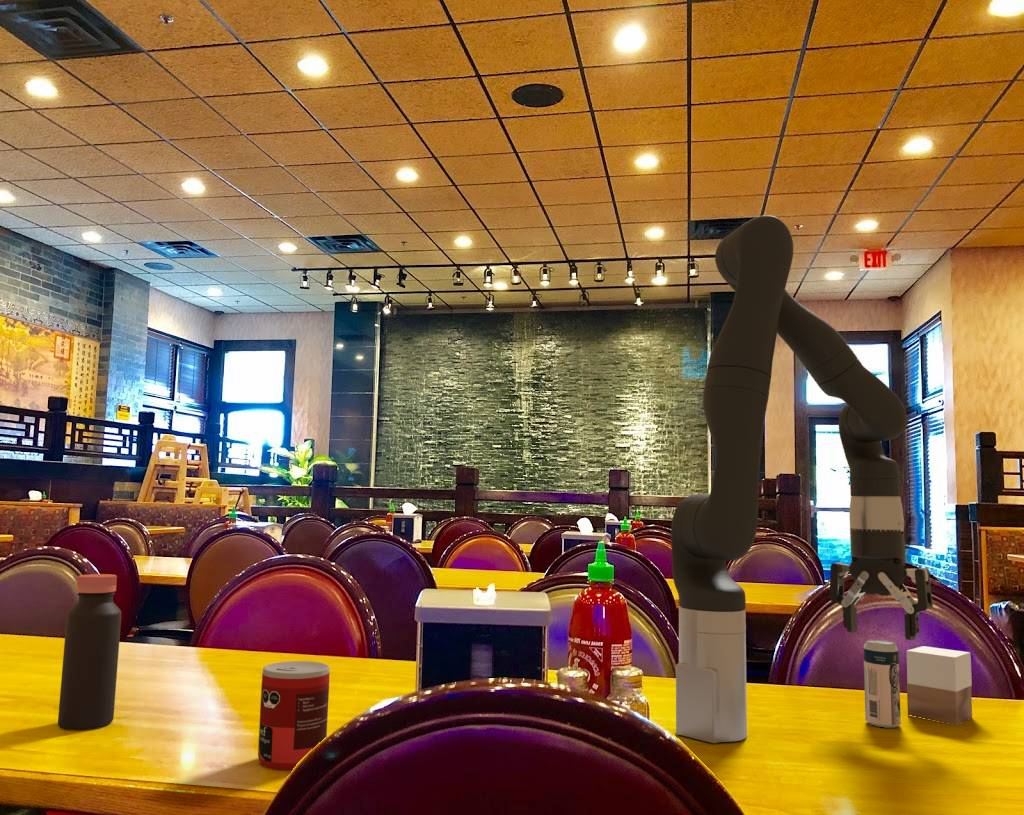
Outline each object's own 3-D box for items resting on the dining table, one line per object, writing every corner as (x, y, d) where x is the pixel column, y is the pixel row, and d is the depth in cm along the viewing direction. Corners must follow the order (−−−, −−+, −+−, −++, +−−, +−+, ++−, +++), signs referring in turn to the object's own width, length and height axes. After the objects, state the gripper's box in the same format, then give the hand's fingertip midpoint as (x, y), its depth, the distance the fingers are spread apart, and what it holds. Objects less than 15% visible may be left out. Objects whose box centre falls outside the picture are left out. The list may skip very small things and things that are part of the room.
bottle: (56, 733, 107) (69, 578, 110) (58, 720, 113) (70, 573, 116) (114, 728, 111) (125, 577, 113) (112, 716, 117) (123, 573, 119)
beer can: (904, 730, 118) (901, 645, 120) (869, 728, 119) (867, 643, 121) (896, 722, 123) (893, 640, 125) (862, 719, 124) (860, 638, 125)
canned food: (264, 751, 102) (269, 660, 103) (329, 751, 103) (333, 660, 104) (250, 771, 94) (255, 673, 96) (320, 771, 95) (325, 673, 96)
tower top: (956, 691, 123) (954, 657, 123) (907, 683, 128) (906, 650, 128) (971, 685, 127) (970, 652, 128) (924, 677, 132) (923, 646, 133)
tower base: (956, 726, 122) (955, 691, 123) (907, 717, 127) (906, 683, 128) (972, 718, 127) (970, 685, 127) (924, 709, 132) (923, 677, 132)
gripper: (820, 525, 127) (823, 632, 125) (917, 528, 117) (922, 645, 115) (840, 524, 132) (844, 627, 131) (935, 527, 122) (940, 639, 121)
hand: (880, 635), depth 123 cm, fingers open, 8 cm apart
